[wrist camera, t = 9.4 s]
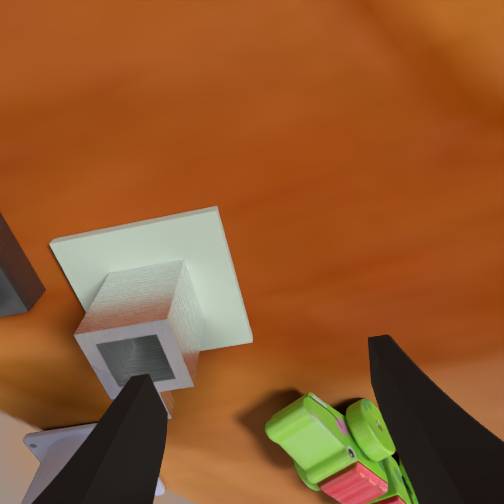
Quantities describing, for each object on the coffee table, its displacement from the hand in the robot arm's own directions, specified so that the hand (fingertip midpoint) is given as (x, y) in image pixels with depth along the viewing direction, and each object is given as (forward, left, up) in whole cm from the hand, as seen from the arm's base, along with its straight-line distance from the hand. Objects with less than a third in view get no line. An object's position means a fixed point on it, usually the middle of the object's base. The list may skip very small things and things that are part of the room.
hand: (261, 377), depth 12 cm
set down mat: (-2, +6, -9) cm, 11 cm away
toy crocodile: (-20, -5, -10) cm, 22 cm away
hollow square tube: (-2, +6, -9) cm, 11 cm away
